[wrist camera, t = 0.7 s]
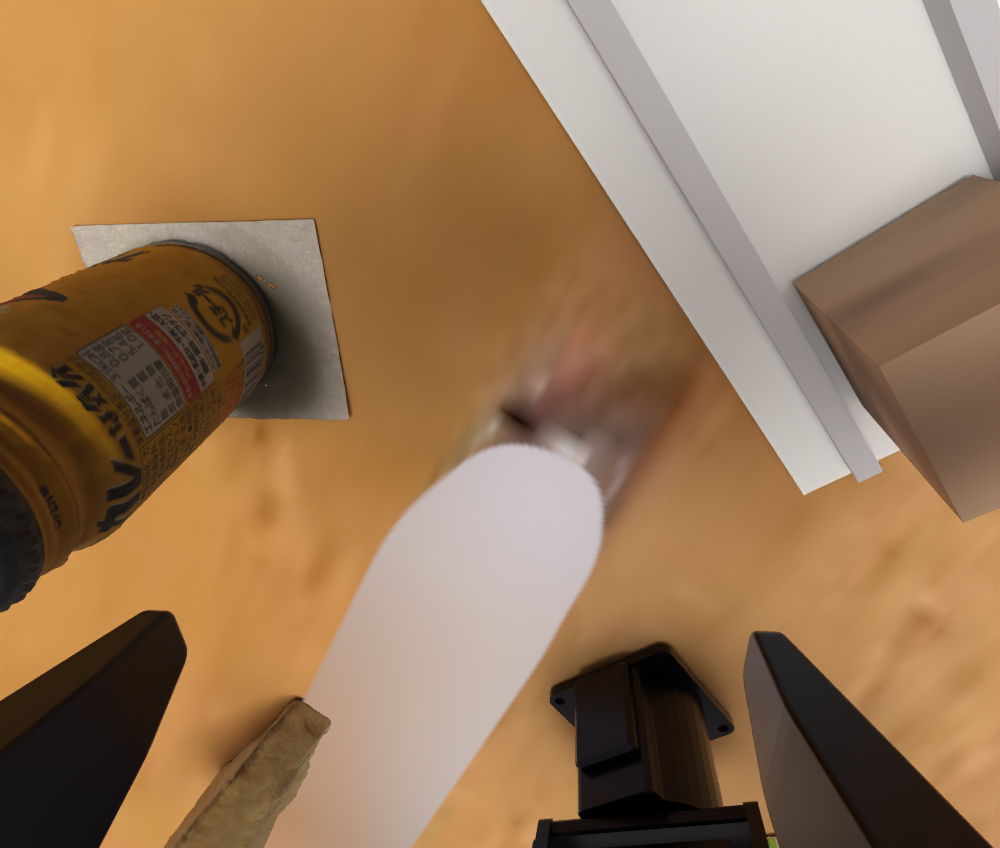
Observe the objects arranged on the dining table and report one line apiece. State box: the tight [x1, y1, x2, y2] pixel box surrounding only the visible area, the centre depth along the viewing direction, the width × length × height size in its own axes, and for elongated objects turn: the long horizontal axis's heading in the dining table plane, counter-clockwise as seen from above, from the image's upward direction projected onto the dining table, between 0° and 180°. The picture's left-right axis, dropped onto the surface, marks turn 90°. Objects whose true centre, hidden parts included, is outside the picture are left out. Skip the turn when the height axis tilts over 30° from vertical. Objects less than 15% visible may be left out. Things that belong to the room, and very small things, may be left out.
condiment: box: [0, 219, 349, 612], centre depth 17 cm, size 7×8×12 cm
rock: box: [164, 700, 331, 848], centre depth 33 cm, size 11×9×10 cm
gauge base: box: [481, 0, 1000, 495], centre depth 15 cm, size 23×11×6 cm, turn 38°
